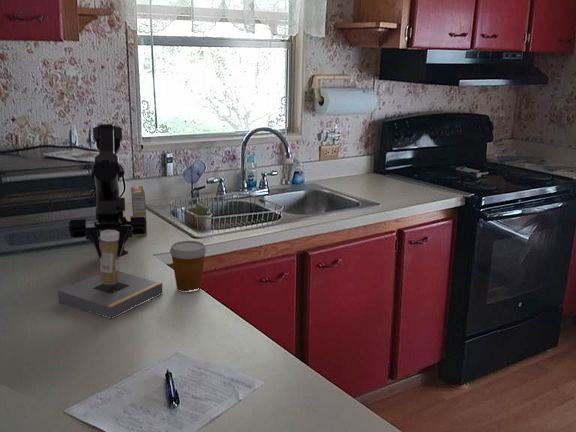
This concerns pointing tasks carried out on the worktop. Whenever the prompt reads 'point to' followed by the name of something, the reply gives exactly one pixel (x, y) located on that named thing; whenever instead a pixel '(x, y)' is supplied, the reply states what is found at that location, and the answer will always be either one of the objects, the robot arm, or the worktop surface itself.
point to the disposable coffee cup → (188, 264)
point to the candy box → (138, 203)
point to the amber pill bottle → (109, 257)
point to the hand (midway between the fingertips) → (109, 256)
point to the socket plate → (101, 302)
